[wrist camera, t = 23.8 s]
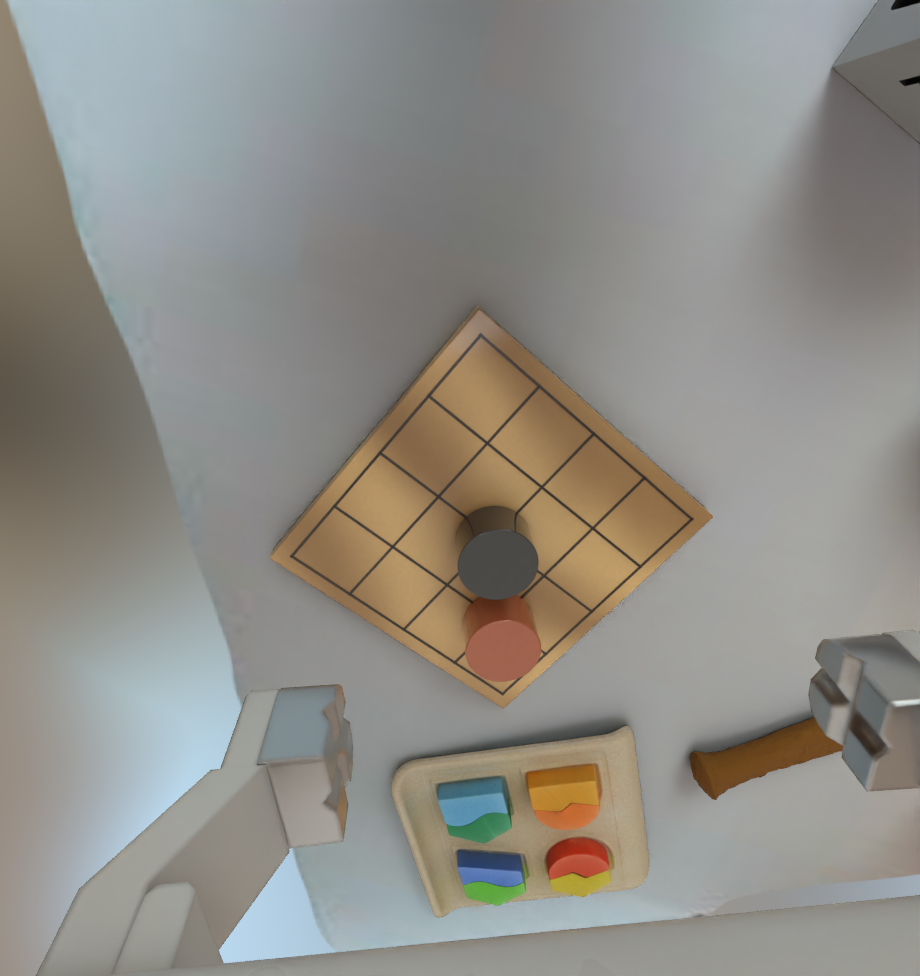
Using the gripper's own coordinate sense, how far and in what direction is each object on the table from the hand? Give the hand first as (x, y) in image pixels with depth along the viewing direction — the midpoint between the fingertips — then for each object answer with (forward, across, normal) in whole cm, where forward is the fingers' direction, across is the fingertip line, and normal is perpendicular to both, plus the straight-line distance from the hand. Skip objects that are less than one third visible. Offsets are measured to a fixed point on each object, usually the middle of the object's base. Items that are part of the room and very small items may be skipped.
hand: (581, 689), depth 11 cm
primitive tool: (+28, -24, +32) cm, 49 cm away
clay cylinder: (+27, 0, +19) cm, 33 cm away
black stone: (+27, 0, +12) cm, 30 cm away
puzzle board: (+28, -2, +39) cm, 48 cm away
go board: (+28, 0, +12) cm, 31 cm away
